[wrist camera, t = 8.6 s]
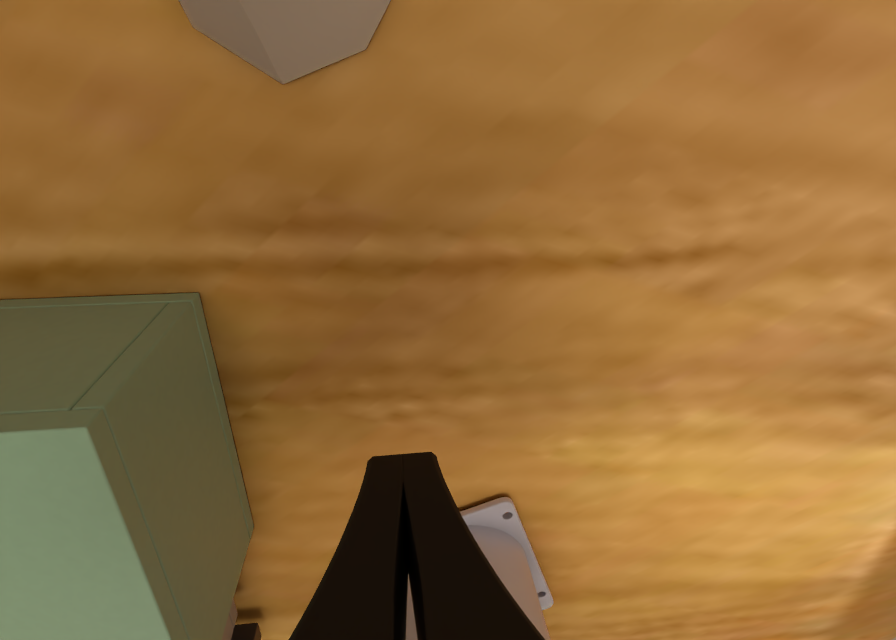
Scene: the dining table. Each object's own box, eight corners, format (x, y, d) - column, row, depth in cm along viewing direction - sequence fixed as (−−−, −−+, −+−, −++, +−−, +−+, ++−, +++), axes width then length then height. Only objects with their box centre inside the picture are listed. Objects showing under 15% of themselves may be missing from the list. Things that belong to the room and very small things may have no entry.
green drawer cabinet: (254, 526, 25) (200, 715, 17) (-2, 548, 23) (-173, 760, 16) (199, 291, 19) (86, 427, 12) (-142, 304, 18) (-501, 464, 11)
